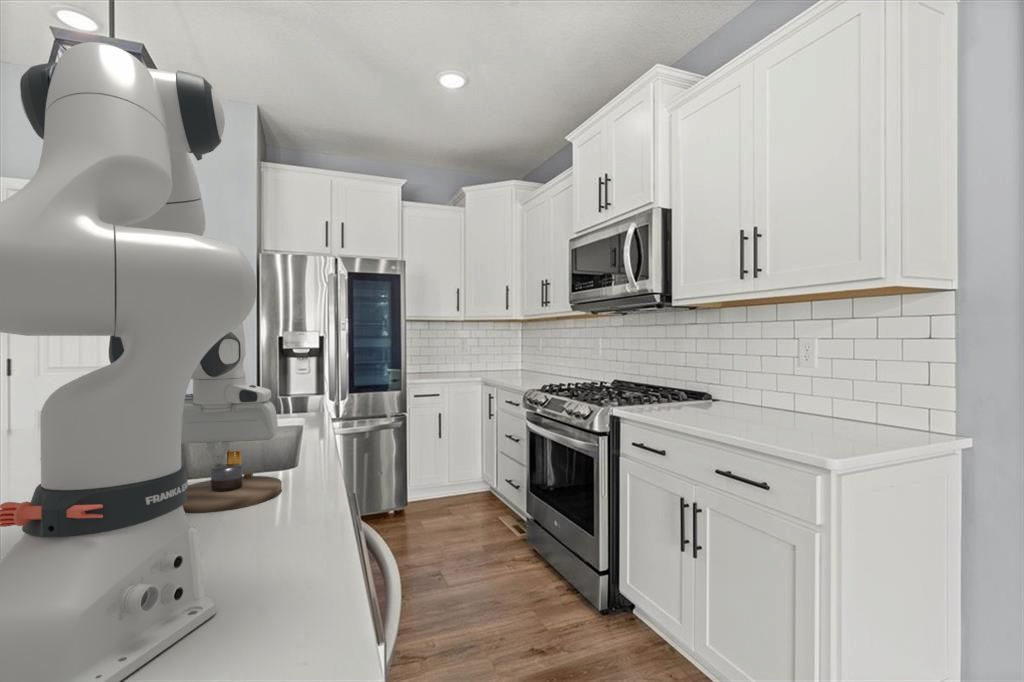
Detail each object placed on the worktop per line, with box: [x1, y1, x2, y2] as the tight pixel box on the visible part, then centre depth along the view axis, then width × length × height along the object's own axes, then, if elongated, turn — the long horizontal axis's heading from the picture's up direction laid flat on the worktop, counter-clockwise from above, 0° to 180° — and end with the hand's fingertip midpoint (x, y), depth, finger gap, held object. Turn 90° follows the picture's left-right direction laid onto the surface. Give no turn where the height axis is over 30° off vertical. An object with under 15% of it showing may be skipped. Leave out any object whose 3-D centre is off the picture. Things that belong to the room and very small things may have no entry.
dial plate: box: [183, 472, 283, 514], centre depth 94 cm, size 18×18×2 cm
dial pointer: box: [210, 449, 244, 491], centre depth 97 cm, size 10×5×5 cm, turn 18°
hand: (220, 465), depth 100 cm, fingers closed
